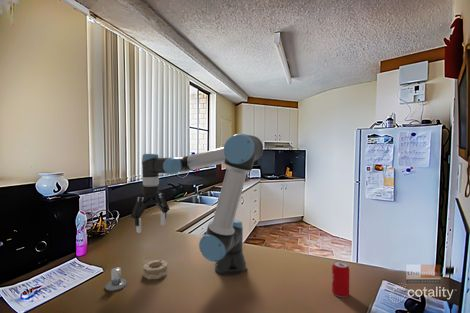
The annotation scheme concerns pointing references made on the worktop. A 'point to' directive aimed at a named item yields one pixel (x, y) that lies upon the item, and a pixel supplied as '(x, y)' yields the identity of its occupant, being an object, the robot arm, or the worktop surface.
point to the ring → (155, 269)
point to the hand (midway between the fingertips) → (151, 228)
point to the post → (115, 280)
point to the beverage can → (340, 279)
